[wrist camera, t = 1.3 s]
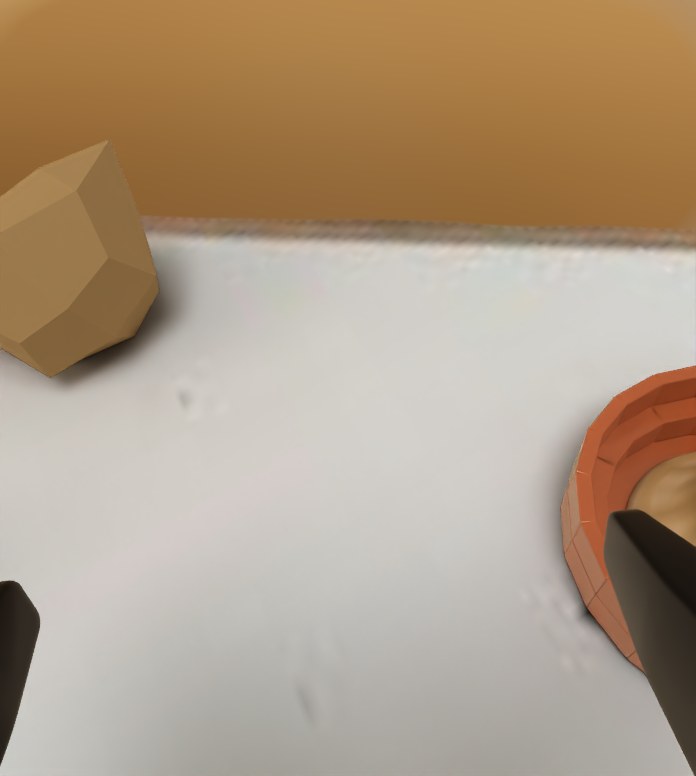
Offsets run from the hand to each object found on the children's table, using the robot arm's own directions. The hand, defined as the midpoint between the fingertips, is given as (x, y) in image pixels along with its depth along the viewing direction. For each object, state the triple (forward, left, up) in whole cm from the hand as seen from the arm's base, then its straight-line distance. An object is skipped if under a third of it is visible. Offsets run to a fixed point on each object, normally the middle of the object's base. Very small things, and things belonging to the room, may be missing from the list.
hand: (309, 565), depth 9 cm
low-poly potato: (+27, +6, -16) cm, 32 cm away
